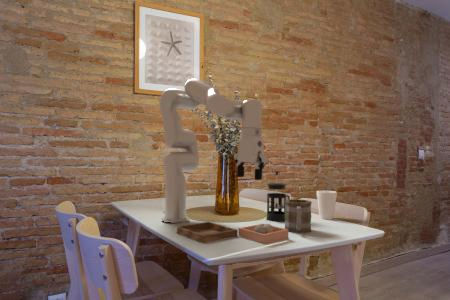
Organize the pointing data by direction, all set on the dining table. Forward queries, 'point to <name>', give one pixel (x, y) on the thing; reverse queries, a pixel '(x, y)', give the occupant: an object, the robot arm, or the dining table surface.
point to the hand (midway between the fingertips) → (249, 178)
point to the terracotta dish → (263, 238)
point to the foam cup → (326, 204)
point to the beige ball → (268, 228)
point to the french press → (272, 214)
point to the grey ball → (260, 229)
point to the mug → (298, 216)
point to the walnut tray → (207, 232)
